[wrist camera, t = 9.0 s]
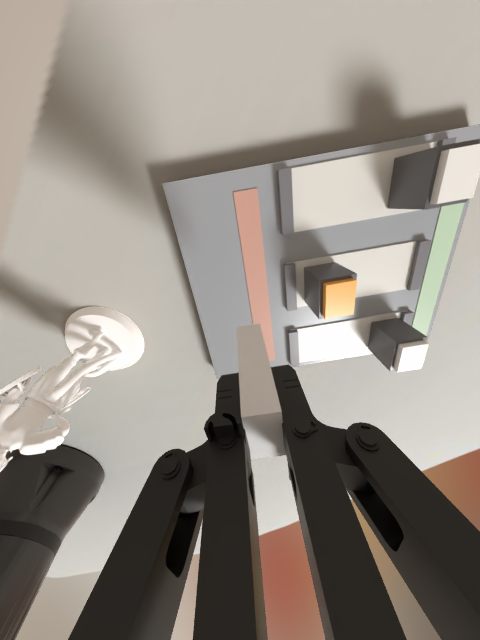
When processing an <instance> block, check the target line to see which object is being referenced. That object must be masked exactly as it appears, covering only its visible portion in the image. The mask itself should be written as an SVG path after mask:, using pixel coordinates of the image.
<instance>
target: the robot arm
mask: <svg viewBox="0 0 480 640" xmlns="http://www.w3.org/2000/svg"><path fill="white" fill-rule="evenodd" d="M236 331H237V350H238V369H239V373H233V374H226V375H221V377H220V379H219V381H218V382H217V393H216V407H215V413H214V414H213V415H212V416H210V417H209V419H208V420H207V421H206V424H205V427H204V430H205V433H206V435H207V438H208V440H207V441H206V442H205V443H204V444H202V445H201V446H199V447H197V448H195V449H193V450H191V451H189V452H187V453H186V452H185V451H184V450H181V449H172V450H170V451H168V452H166V453H164V454H163V455H162V456H161V457H160V458H159V459H158V460H157V462H156V463H155V465H154V467H153V469H152V471H151V473H150V475H149V477H148V479H147V481H146V483H145V485H144V487H143V489H142V491H141V493H140V495H139V497H138V499H137V501H136V503H135V505H134V507H133V509H132V511H131V513H130V515H129V517H128V519H127V521H126V523H125V525H124V528H123V530H122V532H121V534H120V536H119V538H118V540H117V542H116V544H115V546H114V548H113V550H112V552H111V554H110V556H109V558H108V560H107V562H106V564H105V566H104V568H103V570H102V572H101V574H100V576H99V578H98V580H97V582H96V584H95V586H94V588H93V590H92V592H91V594H90V597H89V598H88V600H87V602H86V604H85V606H84V609H83V611H82V613H81V615H80V617H79V619H78V621H77V623H76V625H75V627H74V629H73V631H72V633H71V635H70V637H69V639H68V640H170V639H171V635H172V632H173V628H174V624H175V620H176V616H177V613H178V609H179V605H180V601H181V598H182V594H183V590H184V587H185V583H186V579H187V575H188V571H189V568H190V564H191V560H192V556H193V553H194V549H195V545H196V541H197V538H198V534H199V530H200V526H201V523H202V519H203V523H202V535H201V547H200V560H199V572H198V584H197V596H196V608H195V620H194V632H193V640H268V637H267V626H266V614H265V603H264V593H263V582H262V581H263V580H262V569H261V558H260V547H259V535H258V524H257V513H256V502H255V490H254V479H253V472H252V468H251V460H252V459H259V458H266V457H274V456H281V455H286V456H287V461H288V468H289V478H290V480H291V483H292V488H293V492H294V497H295V501H296V506H297V510H298V515H299V520H300V524H301V529H302V533H303V538H304V543H305V547H306V552H307V556H308V561H309V565H310V570H311V575H312V578H313V584H314V589H315V593H316V598H317V602H318V607H319V611H320V616H321V621H322V625H323V629H324V634H325V639H326V640H407V639H406V637H405V635H404V632H403V630H402V627H401V625H400V622H399V620H398V617H397V615H396V612H395V610H394V607H393V605H392V602H391V600H390V597H389V595H388V593H387V590H386V587H385V585H384V583H383V580H382V577H381V575H380V572H379V570H378V568H377V565H376V563H375V560H374V558H373V555H372V553H371V550H370V548H369V545H368V543H367V541H366V538H365V535H364V533H363V530H362V528H361V525H360V523H359V520H358V518H357V516H356V513H355V510H354V508H353V506H352V503H351V500H350V498H349V495H348V493H349V494H350V496H351V498H352V499H353V501H354V502H355V504H356V505H357V507H358V509H359V510H360V512H361V513H362V515H363V516H364V518H365V520H366V521H367V523H368V524H369V526H370V527H371V529H372V531H373V532H374V534H375V535H376V537H377V539H378V540H379V542H380V543H381V545H382V546H383V548H384V550H385V551H386V553H387V554H388V556H389V557H390V559H391V561H392V562H393V564H394V565H395V567H396V568H397V570H398V571H399V573H400V575H401V576H402V578H403V580H404V581H405V583H406V584H407V586H408V587H409V589H410V591H411V592H412V594H413V595H414V597H415V598H416V600H417V601H418V603H419V605H420V606H421V608H422V609H423V611H424V613H425V614H426V616H427V617H428V619H429V620H430V622H431V624H432V625H433V627H434V628H435V630H436V632H437V633H438V635H439V636H440V638H441V639H442V640H480V532H479V531H478V530H477V529H476V528H475V526H474V525H473V524H472V523H471V522H470V521H469V520H468V519H467V518H466V517H465V516H464V515H463V514H462V513H461V512H460V511H459V510H458V509H457V508H456V507H455V506H454V505H453V504H452V503H451V502H450V501H449V500H448V499H447V498H446V496H445V495H444V494H443V493H442V492H441V491H440V490H439V489H438V488H436V486H435V485H434V484H433V483H432V482H431V481H430V480H429V479H428V478H427V477H426V476H425V475H424V474H423V473H422V472H421V471H420V470H419V469H418V468H417V467H416V466H415V464H414V463H413V462H412V461H411V460H410V459H409V458H408V457H407V456H406V455H405V454H404V453H403V452H402V451H401V450H400V449H399V448H398V447H397V446H396V445H395V444H394V443H393V442H392V441H391V440H390V439H389V438H388V437H387V436H386V435H385V433H383V432H382V431H381V430H380V429H378V428H377V427H375V426H373V425H371V424H368V423H361V422H360V423H354V424H352V425H351V426H349V427H348V429H347V430H346V429H340V428H334V427H330V426H327V425H324V424H322V423H321V422H319V421H318V420H317V419H316V418H315V417H314V416H313V414H312V412H311V410H310V407H309V405H308V402H307V400H306V397H305V394H304V392H303V389H302V387H301V384H300V382H299V380H298V376H297V374H296V371H295V370H294V369H293V368H292V367H291V366H290V365H289V364H288V365H282V366H275V367H271V366H270V362H269V358H268V354H267V350H266V346H265V342H264V338H263V334H262V330H261V326H260V324H254V325H248V326H241V327H236ZM10 457H13V458H12V459H11V460H10V461H9V462H8V464H7V465H6V466H5V467H4V469H3V470H2V471H1V472H0V640H15V639H16V637H17V634H18V633H19V630H20V628H21V626H22V624H23V622H24V620H25V618H26V616H27V614H28V612H29V610H30V607H31V605H32V603H33V601H34V599H35V597H36V595H37V593H38V591H39V589H40V587H41V584H42V583H43V580H44V578H45V576H46V574H47V572H48V570H49V568H50V566H51V564H52V562H53V560H54V557H55V555H56V553H57V551H58V549H59V547H60V545H61V543H62V541H63V539H64V537H65V536H66V534H67V533H68V532H69V530H70V529H71V528H72V526H73V525H74V524H75V522H76V521H77V520H78V518H79V517H80V515H81V514H82V513H83V511H84V510H85V508H86V507H87V506H88V504H89V503H90V502H92V500H93V499H94V498H95V497H96V495H97V493H98V491H99V489H100V487H101V485H102V482H103V480H104V471H103V469H102V467H101V466H100V465H99V463H98V462H97V461H95V460H94V459H93V458H91V457H90V456H88V455H86V454H84V453H82V452H80V451H78V450H75V449H72V448H69V447H65V446H60V445H59V446H57V447H56V449H52V450H46V452H45V453H40V454H34V455H23V454H21V453H20V450H19V449H15V450H13V451H12V452H11V453H9V454H8V455H7V456H6V459H7V460H8V459H9V458H10ZM346 490H347V491H348V493H347V491H346Z"/></svg>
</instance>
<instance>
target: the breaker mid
mask: <svg viewBox="0 0 480 640" xmlns="http://www.w3.org/2000/svg"><path fill="white" fill-rule="evenodd" d="M356 285H357V273H355V272H353V271H351V270H349V269H347V268H345V267H343V266H342V265H340V264H338V263H336V262H332V263H326V264H321V265H315V266H309V267H304V296H305V303H306V304H307V305H308V306H309V308H310V309H311V310H312V311H313V313H314V314H315V315H316V316H317V317H318V319H328V318H334V317H340V316H346V315H352V314H354V306H355V295H356Z"/></svg>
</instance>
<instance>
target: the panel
mask: <svg viewBox="0 0 480 640" xmlns="http://www.w3.org/2000/svg"><path fill="white" fill-rule="evenodd" d="M475 139H480V124H479V125H473V126H468V127H462V128H457V129H452V130H446V131H441V132H436V133H430V134H425V135H419V136H414V137H409V138H403V139H398V140H393V141H387V142H382V143H377V144H371V145H366V146H360V147H355V148H350V149H344V150H339V151H334V152H328V153H323V154H318V155H312V156H307V157H301V158H296V159H291V160H285V161H280V162H275V163H269V164H264V165H258V166H253V167H248V168H242V169H237V170H232V171H226V172H221V173H216V174H210V175H205V176H199V177H194V178H189V179H183V180H178V181H173V182H167V183H162V185H163V189H164V192H165V196H166V199H167V203H168V206H169V210H170V214H171V217H172V221H173V224H174V228H175V231H176V235H177V239H178V242H179V246H180V249H181V253H182V256H183V260H184V264H185V267H186V271H187V274H188V278H189V281H190V285H191V289H192V292H193V296H194V299H195V303H196V306H197V310H198V314H199V317H200V321H201V324H202V328H203V331H204V335H205V339H206V342H207V346H208V349H209V353H210V356H211V360H212V364H213V367H214V371H215V374H216V378H217V379H219V378H220V377H221V375H226V374H233V373H239V369H238V350H237V331H236V327H241V326H248V325H254V324H260V326H261V330H262V334H263V338H264V342H265V346H266V350H267V354H268V358H269V362H270V366H271V367H275V366H282V365H288V364H289V365H290V366H291V367H295V366H300V365H306V364H312V363H318V362H324V361H331V360H337V359H343V358H349V357H355V356H362V355H368V354H373V353H372V352H371V351H370V350H369V349H368V343H369V336H370V329H371V322H376V321H382V320H388V319H394V318H400V319H401V320H403V321H404V322H406V323H407V324H409V325H410V326H412V327H413V328H415V329H416V330H418V331H419V332H421V333H422V334H424V335H425V336H427V337H428V338H427V343H428V339H429V336H430V333H431V329H432V326H433V322H434V319H435V316H436V312H437V309H438V306H439V302H440V299H441V295H442V292H443V289H444V285H445V282H446V278H447V275H448V272H449V268H450V265H451V262H452V258H453V255H454V251H455V248H456V245H457V241H458V238H459V234H460V231H461V228H462V224H463V221H464V218H465V214H466V211H467V207H468V204H469V201H470V198H468V201H467V202H464V203H459V204H453V205H447V206H442V207H436V208H430V209H425V210H421V209H388V202H389V194H390V187H391V180H392V173H393V166H394V159H395V158H397V157H401V156H404V155H408V154H412V153H415V152H419V151H423V150H426V149H430V148H434V147H437V146H442V145H448V144H453V143H459V142H464V141H469V140H475ZM332 262H336V263H338V264H340V265H342V266H343V267H345V268H347V269H349V270H351V271H353V272H355V273H357V285H356V295H355V306H354V314H352V315H346V316H340V317H334V318H328V319H318V317H317V316H316V315H315V314H314V313H313V311H312V310H311V309H310V308H309V306H308V305H307V304H306V303H305V296H304V267H309V266H315V265H321V264H326V263H332Z"/></svg>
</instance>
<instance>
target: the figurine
mask: <svg viewBox="0 0 480 640" xmlns="http://www.w3.org/2000/svg"><path fill="white" fill-rule="evenodd" d="M65 340H66V344H67V346H68V348H69V350H70V351H71V353H72V355H71V356H70V357H68V358H67V359H65V360H64V361H63V362H62V363H61V364H60V365H58V366H54V367H52V368H50V369H49V370H48V371H47V372H45V373H44V374H43V375H42V376H41V378H40V379H39V380H38V381H37V382H36V383H35V385H34V386H33V387H32V389H31V390H30V391H29V393H28V394H27V395H26V397H25V400H26V401H25V402H24V403H23V405H22V406H21V407H20V408H19V409H18V407H19V403H17V401H18V398H19V397H20V396H22V395H23V393H24V387H25V386H27V385H28V384H29V383H30V382H31V376H33V375H34V374H36V373H37V372H39V371H40V370H41V369H43V368H42V367H41V366H39V367H37V368H35V369H33V370H32V371H30V372H28V373H27V374H25V375H23V376H22V377H20V378H18V379H16V380H14V381H12V382H11V383H9V385H7V386H6V387H4V388H3V389H1V390H0V396H2V395H3V396H6V397H5V399H4V401H3V403H2V404H1V400H0V472H1V471H2V470H3V469H4V467H5V466H6V465H7V464H8V462H9V461H10V460H11V459H12V458H13V457H10V458H9V459H8V460H7V459H6V457H5V456H6V453H7V452H8V451H10V453H11V452H12V451H13V450H15V449H19V450H20V453H21V454H23V455H34V454H40V453H45V452H46V450H52V449H56V447H57V446H59V445H61V444H62V442H63V441H64V436H66V435H67V434H68V432H69V429H70V424H69V422H68V421H67V420H66V419H64V418H63V417H61V416H59V415H56V414H61V413H64V412H67V411H69V410H71V407H70V405H71V404H73V403H74V402H76V401H77V400H78V399H80V398H81V397H82V396H84V395H85V394H86V393H87V392H89V391H90V389H91V388H92V387H91V388H90V387H87V388H85V389H83V390H81V391H79V392H78V390H79V389H80V386H79V385H80V383H81V381H82V379H83V378H84V377H96V376H99V375H101V374H103V373H104V372H106V371H107V370H118V369H122V368H126V367H128V366H131V365H133V364H134V363H136V362H137V361H138V360H139V359H140V357H141V356H142V354H143V351H144V339H143V336H142V334H141V331H140V330H139V328H138V327H137V326H136V324H135V323H134V322H133V321H132V320H131V319H129V318H128V317H127V316H125V315H124V314H122V313H120V312H118V311H116V310H113V309H110V308H106V307H100V306H90V307H85V308H82V309H79V310H77V311H76V312H74V313H73V314H71V316H70V317H69V318H68V319H67V322H66V324H65ZM77 360H80V361H81V362H83V363H84V365H83V366H82V367H80V368H79V369H77V370H76V371H75V372H74V373H72V374H71V375H70V376H69V378H68V379H67V380H66V381H65V382H64V383H62V384H61V385H59V386H57V385H58V384H59V383H60V382H61V381H62V380H63V379H64V378H65V377H66V375H67V374H68V373H69V371H70V370H71V368H72V367H74V366H75V365H76V362H77ZM95 369H98V370H97V371H94V370H95ZM90 371H93V372H90ZM8 391H9V392H8ZM77 392H78V393H77ZM17 409H18V410H17ZM47 418H51V419H52V420H53V421H54V422H55V423H56V425H57V426H58V427H55V428H51V429H48V430H45V431H42V432H41V427H42V424H43V422H44V421H45V419H47Z"/></svg>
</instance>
